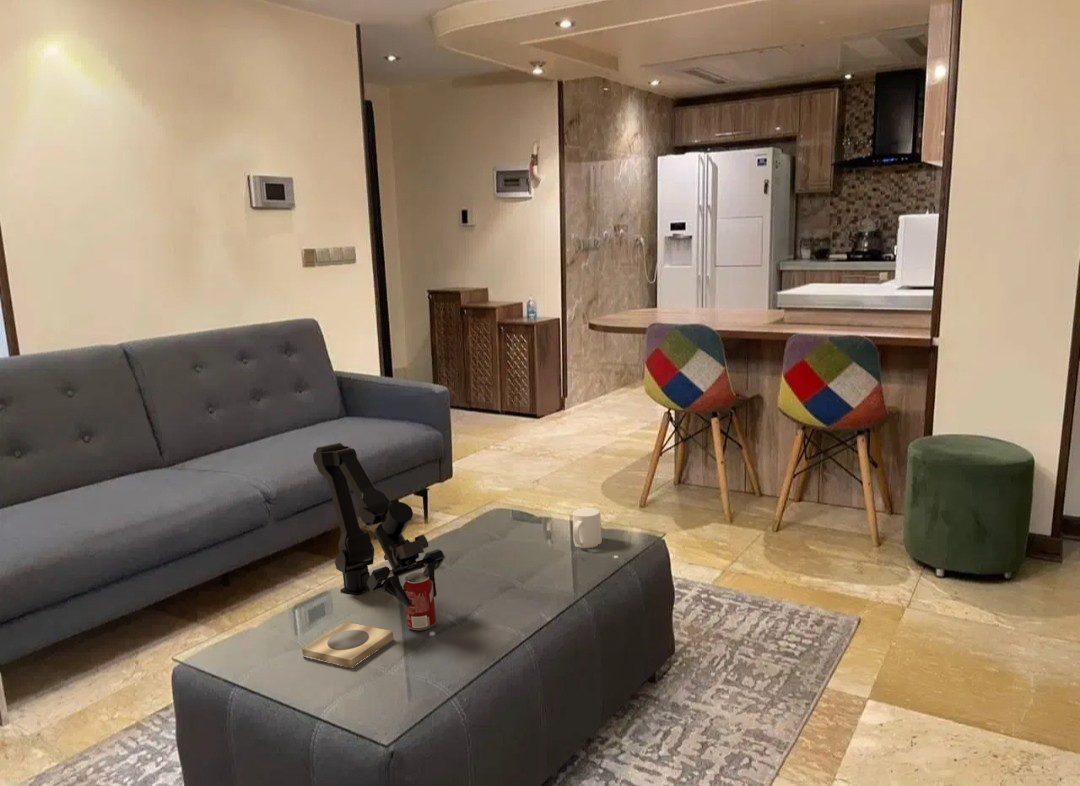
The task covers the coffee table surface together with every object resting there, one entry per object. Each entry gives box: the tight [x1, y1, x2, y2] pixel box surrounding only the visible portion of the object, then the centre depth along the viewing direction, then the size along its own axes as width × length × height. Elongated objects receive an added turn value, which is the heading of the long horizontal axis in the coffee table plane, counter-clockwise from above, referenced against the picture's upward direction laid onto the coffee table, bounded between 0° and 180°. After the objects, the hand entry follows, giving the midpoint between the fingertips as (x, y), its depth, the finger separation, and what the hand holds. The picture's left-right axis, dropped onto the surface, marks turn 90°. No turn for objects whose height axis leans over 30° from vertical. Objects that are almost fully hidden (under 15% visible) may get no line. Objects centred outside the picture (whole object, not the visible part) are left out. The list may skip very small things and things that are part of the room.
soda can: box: [402, 572, 437, 632], centre depth 187 cm, size 7×7×12 cm
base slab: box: [301, 621, 395, 669], centre depth 179 cm, size 14×14×2 cm
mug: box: [572, 507, 603, 549], centre depth 233 cm, size 12×9×8 cm
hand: (422, 600), depth 186 cm, fingers closed on soda can, 7 cm apart
